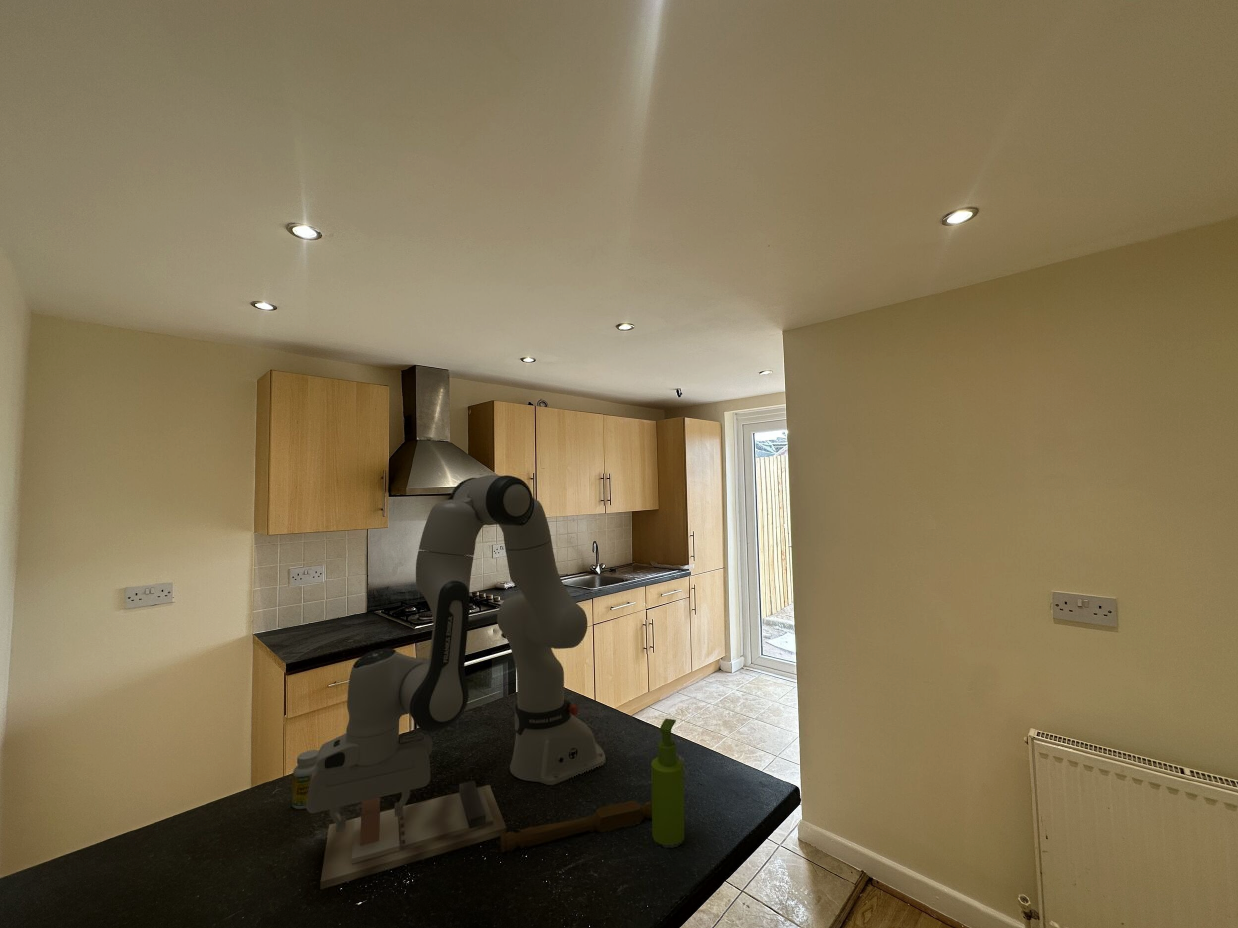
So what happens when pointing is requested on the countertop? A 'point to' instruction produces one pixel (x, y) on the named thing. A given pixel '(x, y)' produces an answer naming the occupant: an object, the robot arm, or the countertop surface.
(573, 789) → the countertop surface
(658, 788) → the soap dispenser
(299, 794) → the supplement bottle
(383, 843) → the stub
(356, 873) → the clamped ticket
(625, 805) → the tap handle
